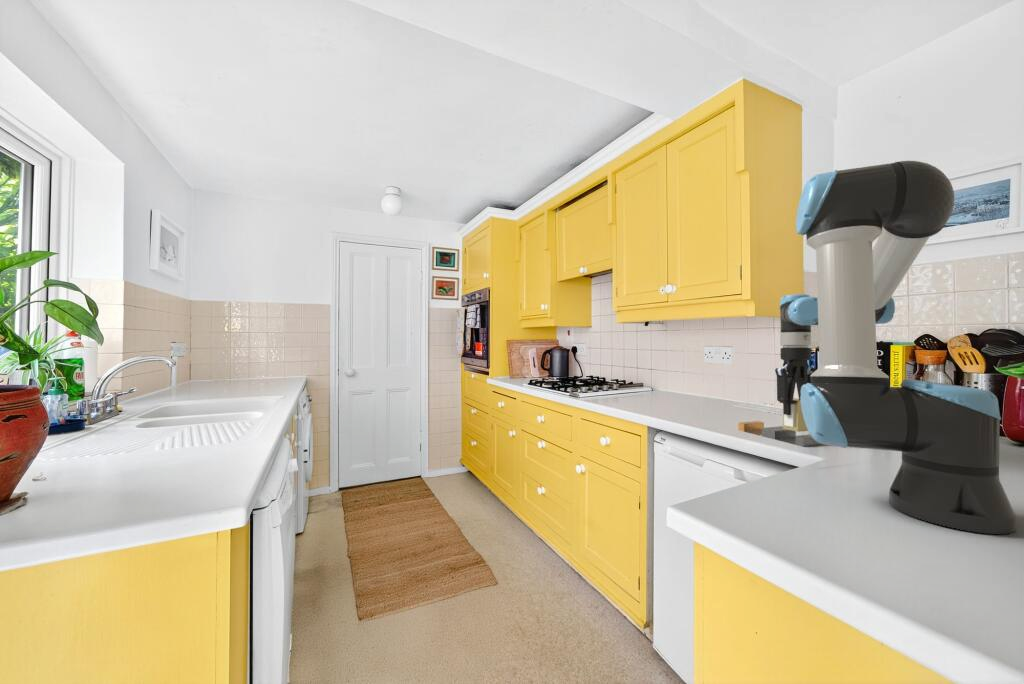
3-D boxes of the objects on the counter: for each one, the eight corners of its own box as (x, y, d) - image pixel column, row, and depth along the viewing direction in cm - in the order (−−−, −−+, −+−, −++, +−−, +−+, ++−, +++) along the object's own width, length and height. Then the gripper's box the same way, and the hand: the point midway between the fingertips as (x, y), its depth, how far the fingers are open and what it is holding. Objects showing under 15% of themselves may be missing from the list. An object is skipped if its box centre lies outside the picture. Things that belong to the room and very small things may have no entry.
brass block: (797, 431, 117) (797, 400, 117) (783, 428, 121) (783, 398, 121) (809, 430, 118) (809, 400, 118) (794, 427, 123) (794, 398, 123)
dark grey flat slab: (803, 448, 114) (803, 437, 114) (738, 431, 135) (738, 422, 135) (825, 445, 116) (825, 435, 116) (758, 429, 137) (758, 420, 137)
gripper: (785, 346, 114) (785, 429, 114) (830, 346, 119) (830, 426, 119) (761, 346, 121) (762, 424, 121) (804, 346, 126) (805, 421, 126)
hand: (796, 425), depth 120 cm, fingers closed on brass block, 4 cm apart
